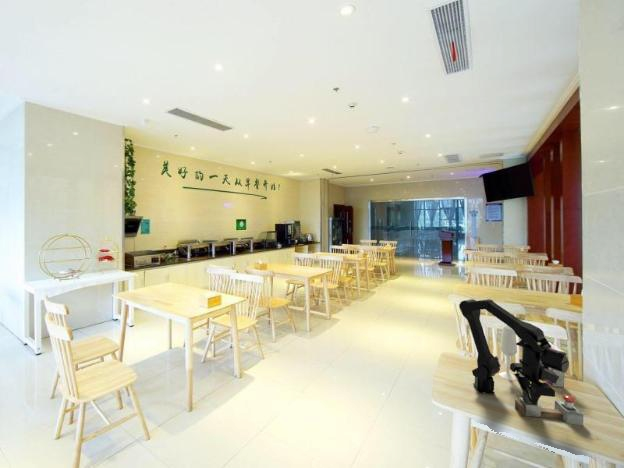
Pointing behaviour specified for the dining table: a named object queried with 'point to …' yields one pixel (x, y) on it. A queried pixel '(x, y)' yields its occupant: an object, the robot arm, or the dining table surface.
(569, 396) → the red plunger button
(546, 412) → the rail
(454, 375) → the dining table surface
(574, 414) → the button housing
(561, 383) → the candy bar box
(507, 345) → the champagne flute
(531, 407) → the carriage
